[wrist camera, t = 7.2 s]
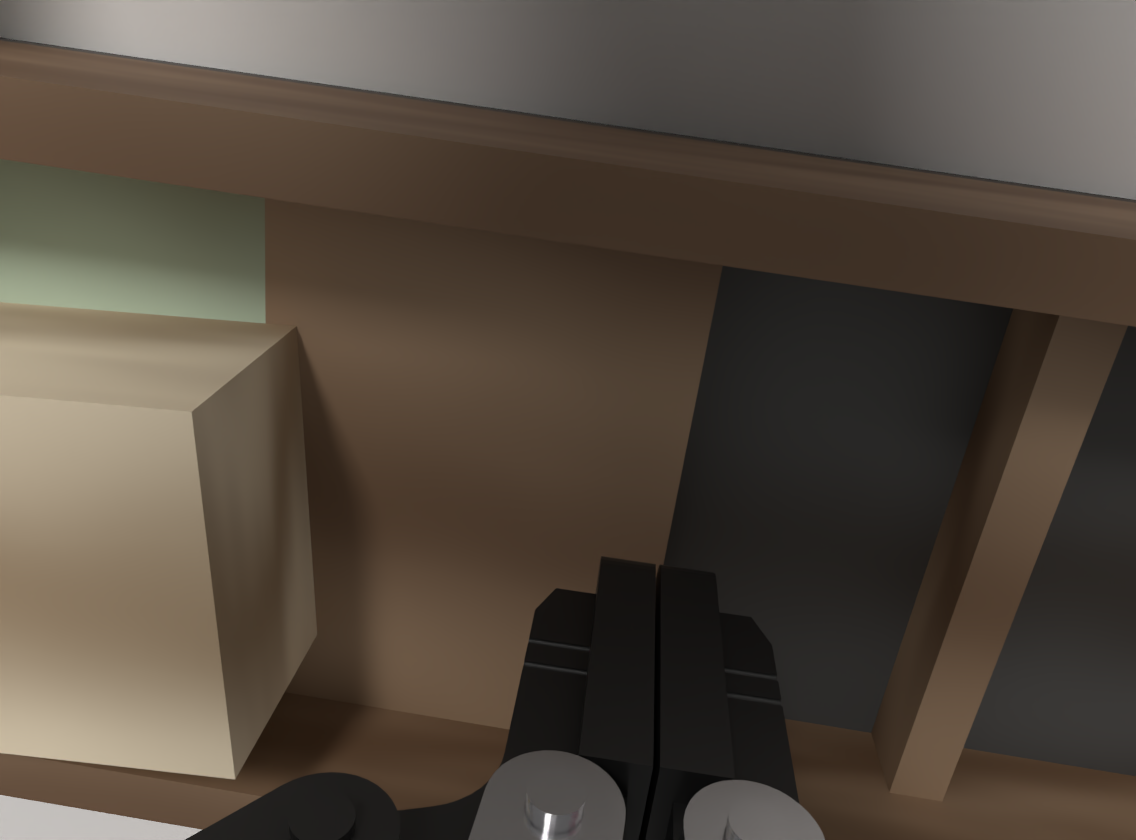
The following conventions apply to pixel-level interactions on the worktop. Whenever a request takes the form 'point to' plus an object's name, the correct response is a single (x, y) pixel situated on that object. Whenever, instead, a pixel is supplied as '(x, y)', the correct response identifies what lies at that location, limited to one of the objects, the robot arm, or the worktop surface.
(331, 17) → the worktop surface
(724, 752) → the robot arm
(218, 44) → the worktop surface
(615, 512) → the divided wooden tray
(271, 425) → the block
